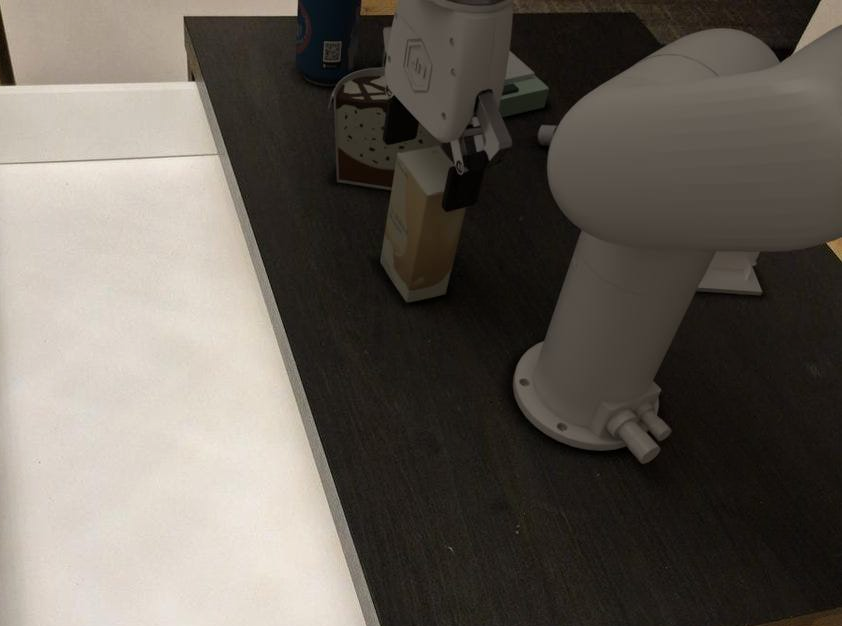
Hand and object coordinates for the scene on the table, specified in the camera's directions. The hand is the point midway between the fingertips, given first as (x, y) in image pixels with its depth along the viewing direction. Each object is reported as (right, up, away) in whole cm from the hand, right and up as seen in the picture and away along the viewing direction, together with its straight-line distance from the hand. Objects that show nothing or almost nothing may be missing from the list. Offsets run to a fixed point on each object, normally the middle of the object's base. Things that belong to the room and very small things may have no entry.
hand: (428, 172), depth 81 cm
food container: (-4, +6, +19) cm, 20 cm away
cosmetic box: (-1, -7, +9) cm, 12 cm away
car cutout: (+26, -5, +15) cm, 30 cm away
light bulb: (+17, +9, +24) cm, 31 cm away
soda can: (-10, +21, +30) cm, 38 cm away
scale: (+6, +20, +31) cm, 37 cm away
